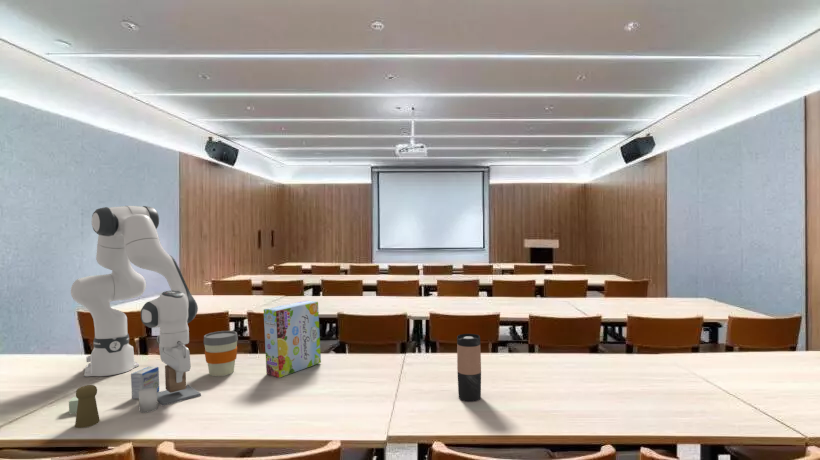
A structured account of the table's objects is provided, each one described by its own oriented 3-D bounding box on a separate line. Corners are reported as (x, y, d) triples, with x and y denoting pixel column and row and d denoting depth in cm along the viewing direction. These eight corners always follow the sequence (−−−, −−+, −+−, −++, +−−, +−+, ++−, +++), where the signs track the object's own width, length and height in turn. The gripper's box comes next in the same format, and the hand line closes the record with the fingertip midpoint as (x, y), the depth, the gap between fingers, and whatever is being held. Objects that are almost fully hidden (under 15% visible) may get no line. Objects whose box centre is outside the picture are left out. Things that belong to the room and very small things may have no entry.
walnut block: (165, 389, 159) (164, 365, 159) (181, 385, 162) (180, 362, 162) (170, 392, 155) (169, 368, 155) (186, 388, 159) (185, 365, 159)
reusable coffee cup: (205, 379, 175) (204, 340, 175) (203, 370, 186) (202, 333, 186) (240, 374, 181) (239, 335, 181) (236, 365, 192) (235, 329, 192)
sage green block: (72, 409, 149) (72, 397, 149) (94, 406, 151) (94, 394, 151) (69, 414, 145) (68, 401, 145) (92, 411, 148) (91, 398, 148)
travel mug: (483, 394, 155) (482, 334, 154) (479, 403, 147) (478, 339, 147) (460, 392, 157) (459, 332, 157) (455, 400, 150) (454, 338, 150)
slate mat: (151, 396, 159) (151, 393, 159) (188, 387, 168) (188, 384, 167) (162, 405, 151) (162, 403, 151) (200, 395, 159) (200, 393, 159)
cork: (82, 419, 141) (81, 383, 141) (104, 418, 141) (103, 382, 141) (70, 428, 135) (68, 390, 134) (92, 427, 135) (91, 389, 135)
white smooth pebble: (137, 409, 148) (136, 390, 148) (154, 405, 151) (154, 386, 151) (141, 413, 144) (141, 394, 144) (159, 409, 148) (159, 390, 148)
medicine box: (142, 399, 156) (142, 373, 156) (131, 398, 157) (130, 373, 157) (159, 391, 164) (159, 366, 164) (148, 390, 165) (148, 366, 165)
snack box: (307, 360, 198) (305, 299, 197) (321, 363, 193) (320, 301, 192) (264, 374, 180) (262, 307, 180) (278, 378, 175) (277, 310, 175)
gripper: (195, 342, 153) (196, 384, 154) (174, 332, 168) (175, 371, 168) (174, 346, 149) (175, 389, 149) (155, 336, 164) (156, 375, 164)
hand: (175, 379), depth 159 cm, fingers closed on walnut block, 5 cm apart
